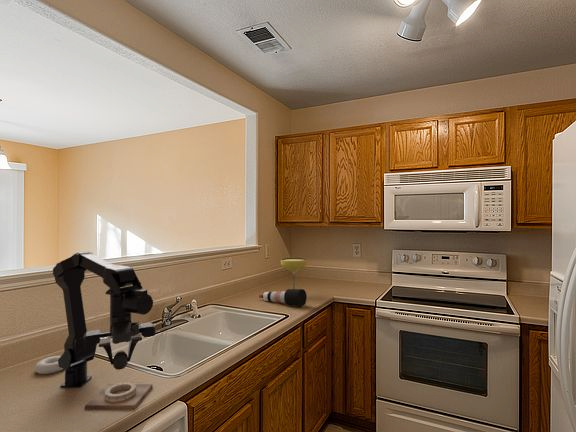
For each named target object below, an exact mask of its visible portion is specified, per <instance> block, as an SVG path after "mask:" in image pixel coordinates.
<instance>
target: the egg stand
mask: <svg viewBox="0 0 576 432" xmlns="http://www.w3.org/2000/svg"><path fill="white" fill-rule="evenodd" d="M152 389H153V384H152V383H133V382H130V381H128V382H127V381H124V382H119V383H108V384H106V385H105V386H104V387H103V388H102V389H101V390H100V391H99V392H98V393H96V394H95V395H94V396H93V397H92V398H91V399H90V400H89V401H88V402H87V403H85V404H84V410H135V409H136V408H137V407H138V405H140V403H141V402H142V401H143V399H145V397H146V396H147V395H148V393H149V392H150V391H151V390H152Z"/></svg>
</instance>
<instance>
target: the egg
mask: <svg viewBox="0 0 576 432" xmlns="http://www.w3.org/2000/svg"><path fill="white" fill-rule="evenodd" d="M128 363H129V362H128V353H127V352H125V351H124V350H119V351H117V352H116V353H115V355H114V356H113V365H112V367H113V368H114V370H116V371H117V370H119V371H120V370H124V369H125V368H126V367H127V365H128Z"/></svg>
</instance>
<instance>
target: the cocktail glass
mask: <svg viewBox="0 0 576 432" xmlns="http://www.w3.org/2000/svg"><path fill="white" fill-rule="evenodd" d="M307 262H308V260H307V259H306V258H300V257H289V258H288V257H287V258H281V259H280V265H281V266H282V267H283V269H286V270H287V271H289V272H291V274H292V276H293V277H292V278H293V282H292V283H293V284H292V285H293V286H292V287H293V288H292V289H295V274H297V272H298V271H300V270H301V269H302V270H303V268H305V267H306V266H307Z"/></svg>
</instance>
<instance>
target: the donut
mask: <svg viewBox="0 0 576 432" xmlns="http://www.w3.org/2000/svg"><path fill="white" fill-rule="evenodd" d="M61 356H62V355H55V356H54V355H53V356H49V357H46V358H43V359H41V360H40V361H38V362H37V364H35V366H34V370H35V372H36V373H37V374H40V375H49V374H54V373H58V372H61V371H63V370H64V369H63V368H60V367H59V365H58V360H59V358H60V357H61Z"/></svg>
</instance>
